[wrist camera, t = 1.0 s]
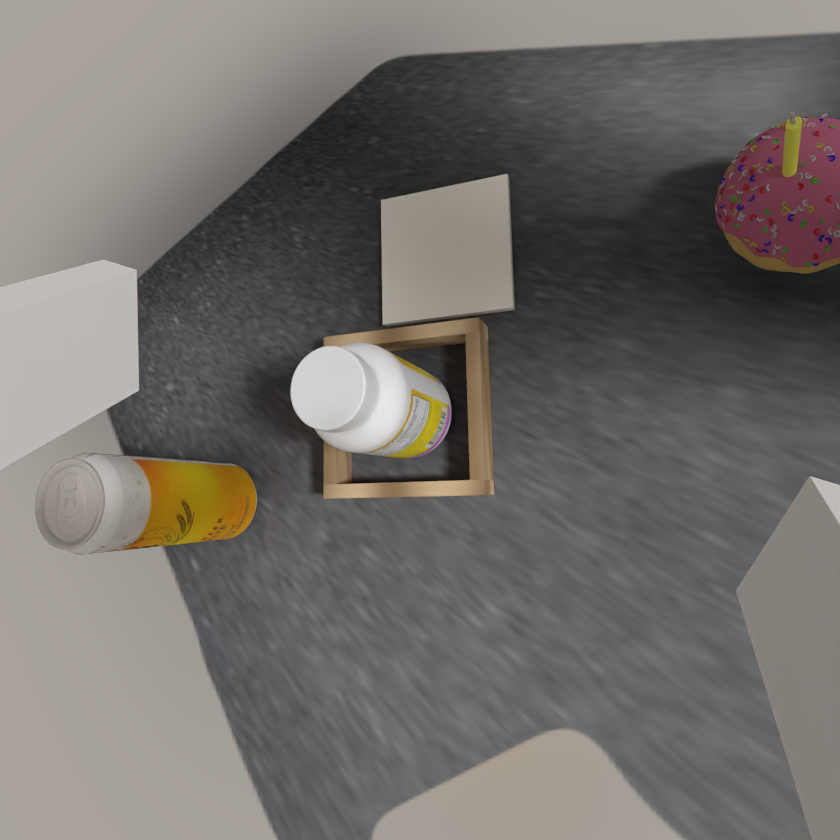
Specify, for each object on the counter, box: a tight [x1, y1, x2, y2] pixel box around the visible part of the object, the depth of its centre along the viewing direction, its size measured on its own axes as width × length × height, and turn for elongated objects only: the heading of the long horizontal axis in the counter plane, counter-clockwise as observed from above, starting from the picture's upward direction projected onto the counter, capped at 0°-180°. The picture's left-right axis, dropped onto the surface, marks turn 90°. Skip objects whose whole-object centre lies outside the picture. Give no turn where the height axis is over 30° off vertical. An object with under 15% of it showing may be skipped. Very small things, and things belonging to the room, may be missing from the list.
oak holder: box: [324, 317, 494, 499], centre depth 43 cm, size 12×12×2 cm
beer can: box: [35, 453, 257, 555], centre depth 42 cm, size 6×6×15 cm
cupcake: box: [715, 111, 840, 274], centre depth 31 cm, size 9×8×12 cm
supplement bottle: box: [290, 342, 452, 458], centre depth 38 cm, size 7×7×13 cm
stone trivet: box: [381, 174, 515, 327], centre depth 45 cm, size 10×10×1 cm
